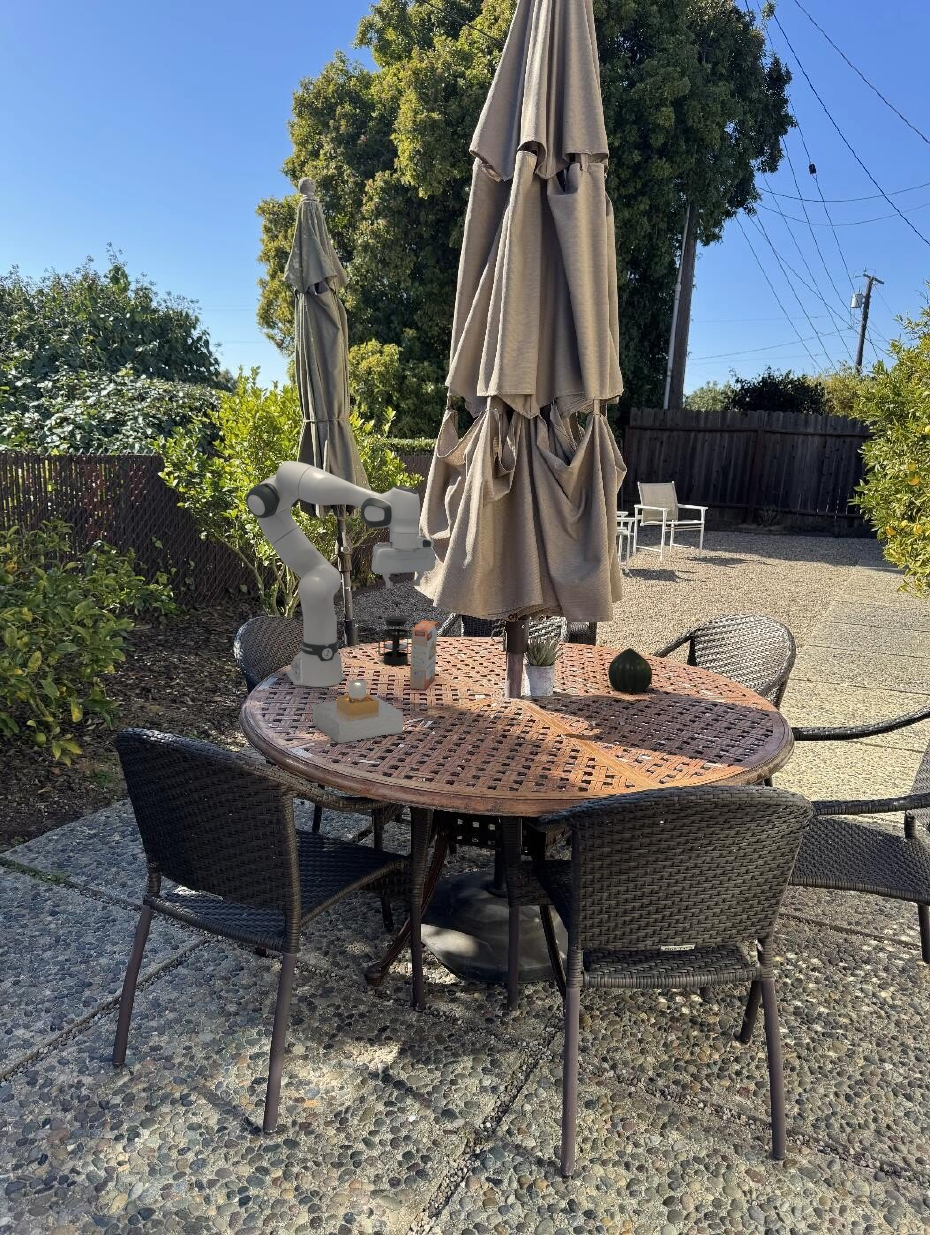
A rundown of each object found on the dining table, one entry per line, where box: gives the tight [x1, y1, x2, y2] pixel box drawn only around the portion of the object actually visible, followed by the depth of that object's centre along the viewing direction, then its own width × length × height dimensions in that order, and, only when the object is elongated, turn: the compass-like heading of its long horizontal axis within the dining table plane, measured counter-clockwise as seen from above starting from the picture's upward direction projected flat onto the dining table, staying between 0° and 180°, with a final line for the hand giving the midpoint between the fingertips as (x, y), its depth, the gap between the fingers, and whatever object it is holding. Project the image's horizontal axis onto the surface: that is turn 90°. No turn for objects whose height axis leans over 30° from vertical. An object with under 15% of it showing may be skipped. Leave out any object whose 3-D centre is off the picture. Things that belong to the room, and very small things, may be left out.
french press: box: [377, 600, 409, 667], centre depth 318 cm, size 12×9×23 cm
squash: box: [607, 647, 653, 694], centre depth 298 cm, size 14×15×15 cm
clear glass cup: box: [348, 679, 368, 704], centre depth 249 cm, size 5×5×8 cm
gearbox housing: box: [312, 692, 404, 744], centre depth 250 cm, size 18×20×9 cm
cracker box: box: [409, 620, 438, 691], centre depth 293 cm, size 14×6×21 cm, turn 168°
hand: (403, 586), depth 262 cm, fingers open, 8 cm apart
